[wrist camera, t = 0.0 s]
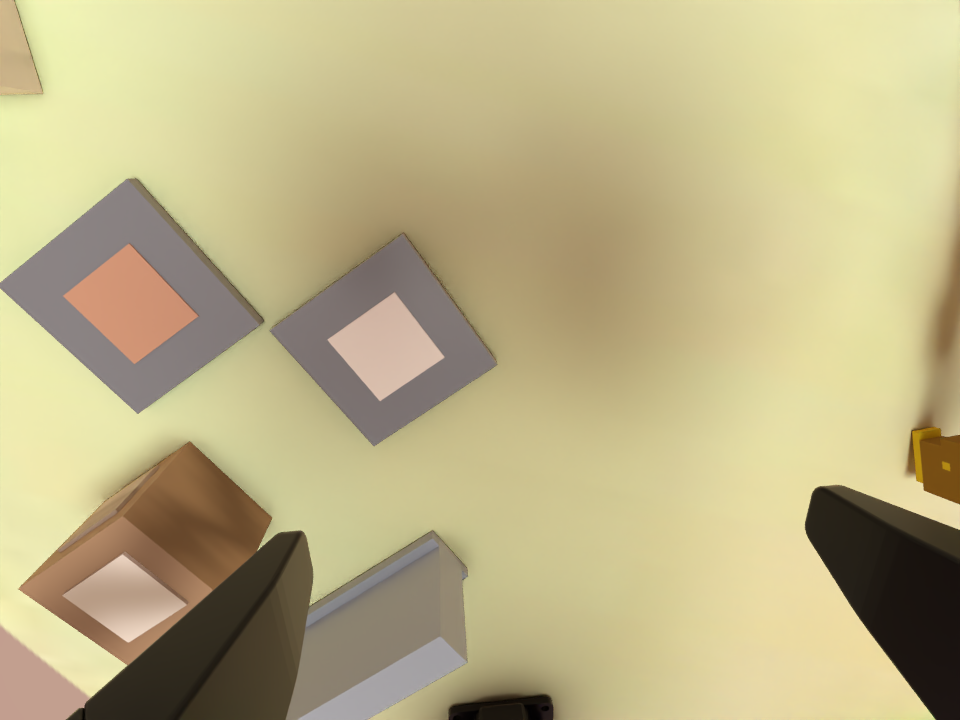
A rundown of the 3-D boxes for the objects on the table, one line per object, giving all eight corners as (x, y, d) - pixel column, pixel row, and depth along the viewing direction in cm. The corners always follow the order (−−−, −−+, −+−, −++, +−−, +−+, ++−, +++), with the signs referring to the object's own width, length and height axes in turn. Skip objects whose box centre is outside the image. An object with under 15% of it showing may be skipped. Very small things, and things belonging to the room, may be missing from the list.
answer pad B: (264, 320, 22) (258, 325, 21) (145, 407, 23) (136, 414, 22) (136, 178, 19) (126, 178, 19) (8, 282, 20) (-5, 285, 20)
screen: (296, 670, 29) (264, 789, 24) (257, 639, 28) (213, 756, 23) (467, 568, 28) (475, 670, 22) (432, 530, 26) (431, 627, 21)
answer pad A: (495, 360, 23) (497, 365, 23) (375, 439, 24) (373, 447, 24) (403, 232, 21) (402, 234, 20) (273, 326, 22) (268, 331, 21)
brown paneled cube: (272, 517, 26) (230, 608, 20) (191, 570, 26) (130, 671, 21) (188, 438, 24) (117, 516, 18) (103, 498, 24) (11, 589, 19)
